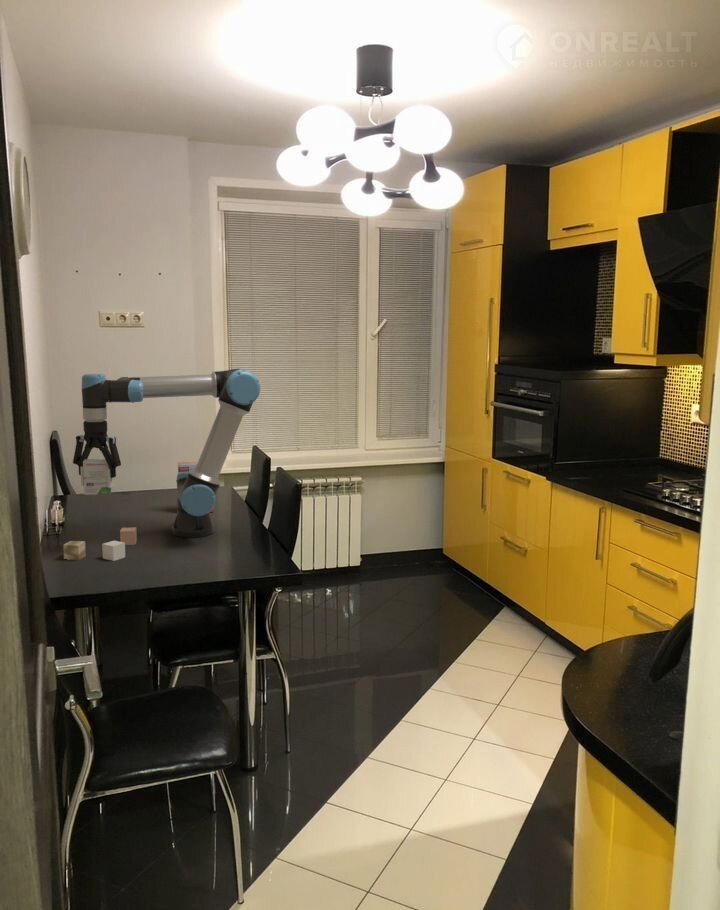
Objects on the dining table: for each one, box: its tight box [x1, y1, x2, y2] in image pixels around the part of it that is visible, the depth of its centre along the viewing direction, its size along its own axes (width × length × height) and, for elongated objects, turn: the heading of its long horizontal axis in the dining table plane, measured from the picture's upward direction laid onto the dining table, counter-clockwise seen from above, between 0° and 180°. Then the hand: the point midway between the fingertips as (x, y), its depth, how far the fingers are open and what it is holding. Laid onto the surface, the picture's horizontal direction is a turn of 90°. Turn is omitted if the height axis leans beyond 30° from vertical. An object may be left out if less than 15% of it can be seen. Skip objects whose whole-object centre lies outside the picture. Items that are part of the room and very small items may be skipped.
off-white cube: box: [101, 540, 126, 562], centre depth 242 cm, size 5×5×5 cm
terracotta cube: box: [119, 526, 138, 546], centre depth 260 cm, size 5×5×5 cm
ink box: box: [83, 458, 112, 496], centre depth 249 cm, size 8×5×12 cm, turn 105°
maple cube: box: [62, 540, 87, 561], centre depth 241 cm, size 5×5×5 cm
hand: (97, 485), depth 249 cm, fingers closed on ink box, 9 cm apart
